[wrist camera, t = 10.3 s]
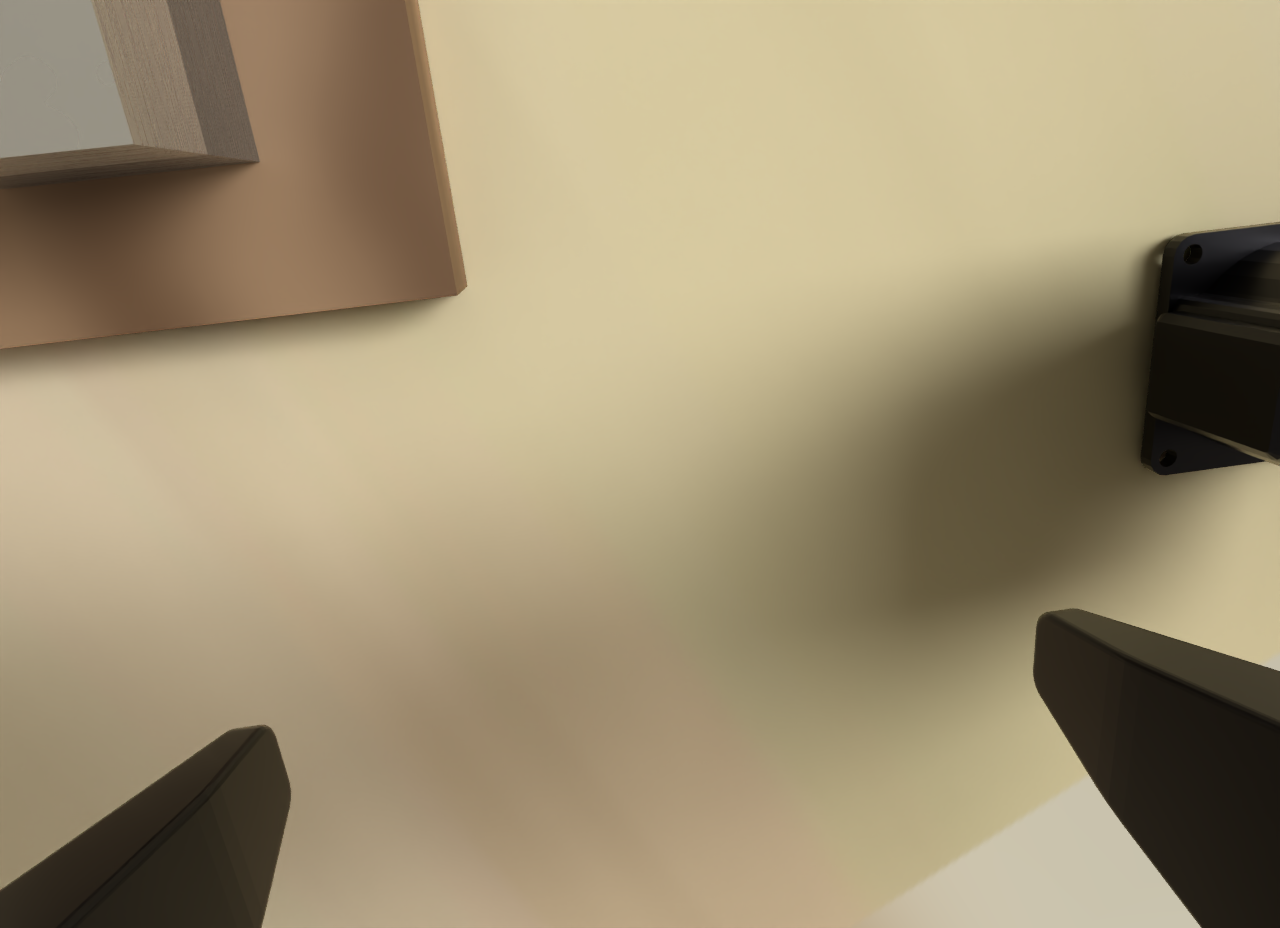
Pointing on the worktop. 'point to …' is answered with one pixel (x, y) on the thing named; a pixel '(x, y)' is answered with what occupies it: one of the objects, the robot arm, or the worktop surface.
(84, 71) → the block
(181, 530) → the worktop surface
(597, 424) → the worktop surface
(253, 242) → the walnut stand
